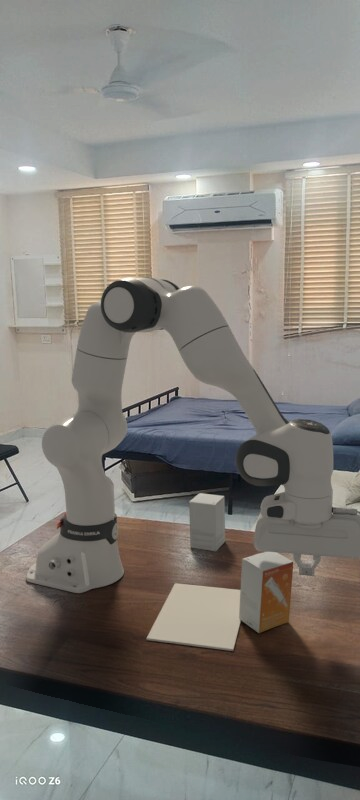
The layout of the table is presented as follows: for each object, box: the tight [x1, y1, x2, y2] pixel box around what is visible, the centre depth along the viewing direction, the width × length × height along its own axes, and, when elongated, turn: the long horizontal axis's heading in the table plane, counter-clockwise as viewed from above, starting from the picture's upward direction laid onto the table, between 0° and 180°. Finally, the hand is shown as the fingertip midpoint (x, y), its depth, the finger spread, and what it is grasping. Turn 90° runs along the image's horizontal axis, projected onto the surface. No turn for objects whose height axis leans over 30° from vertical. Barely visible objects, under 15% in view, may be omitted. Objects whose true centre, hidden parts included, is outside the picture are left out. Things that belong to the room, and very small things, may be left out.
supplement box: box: [188, 492, 226, 552], centre depth 152 cm, size 7×7×13 cm
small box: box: [239, 551, 294, 634], centre depth 115 cm, size 8×6×13 cm
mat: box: [146, 582, 242, 652], centre depth 119 cm, size 16×22×1 cm
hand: (306, 574), depth 113 cm, fingers closed
